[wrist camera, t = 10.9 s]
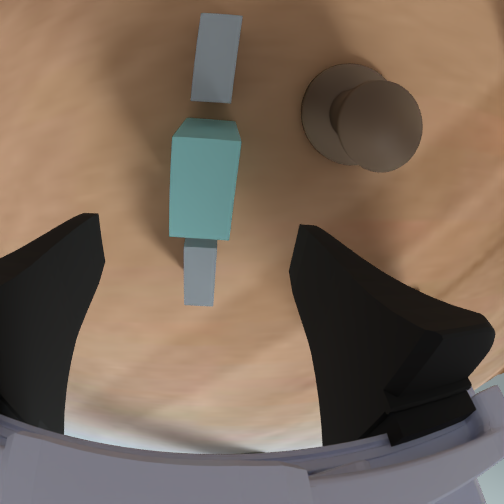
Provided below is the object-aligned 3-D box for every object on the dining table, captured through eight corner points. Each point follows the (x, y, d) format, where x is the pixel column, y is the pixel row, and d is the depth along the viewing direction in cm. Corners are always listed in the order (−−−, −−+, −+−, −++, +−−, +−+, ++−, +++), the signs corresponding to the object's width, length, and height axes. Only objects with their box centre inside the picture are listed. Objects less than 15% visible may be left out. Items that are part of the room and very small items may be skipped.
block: (226, 194, 20) (229, 240, 15) (181, 191, 20) (169, 236, 15) (235, 121, 17) (241, 141, 12) (187, 117, 17) (172, 136, 12)
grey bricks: (213, 275, 24) (213, 306, 21) (187, 274, 23) (184, 304, 20) (238, 26, 14) (242, 15, 11) (204, 24, 14) (201, 12, 11)
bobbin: (383, 170, 20) (416, 195, 16) (293, 155, 19) (311, 178, 15) (404, 80, 16) (444, 87, 13) (310, 52, 15) (335, 47, 11)
